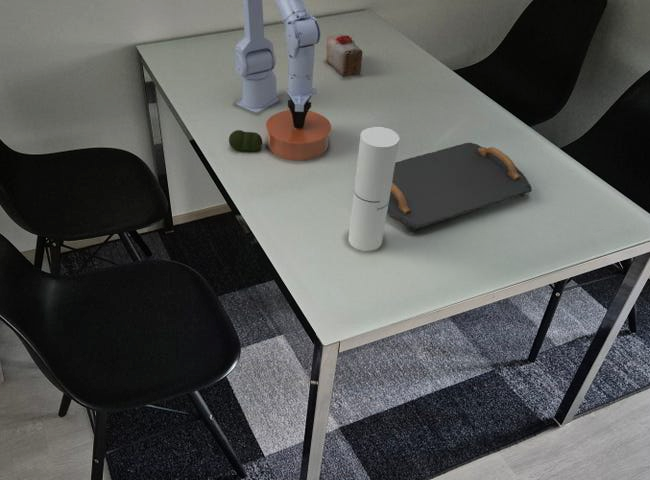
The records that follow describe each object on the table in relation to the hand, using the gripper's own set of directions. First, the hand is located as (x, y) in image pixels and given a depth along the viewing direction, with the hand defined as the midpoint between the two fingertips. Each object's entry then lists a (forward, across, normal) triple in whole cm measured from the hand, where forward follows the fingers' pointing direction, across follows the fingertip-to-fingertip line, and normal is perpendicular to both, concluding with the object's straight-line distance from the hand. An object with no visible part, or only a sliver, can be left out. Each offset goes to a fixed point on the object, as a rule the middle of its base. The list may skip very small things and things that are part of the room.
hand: (298, 123), depth 158 cm
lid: (+1, 0, 0) cm, 1 cm away
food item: (+6, +45, -13) cm, 48 cm away
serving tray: (+6, -17, -35) cm, 39 cm away
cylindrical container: (+6, -36, -15) cm, 40 cm away
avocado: (+6, -3, +13) cm, 15 cm away
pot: (+6, 0, 0) cm, 6 cm away
